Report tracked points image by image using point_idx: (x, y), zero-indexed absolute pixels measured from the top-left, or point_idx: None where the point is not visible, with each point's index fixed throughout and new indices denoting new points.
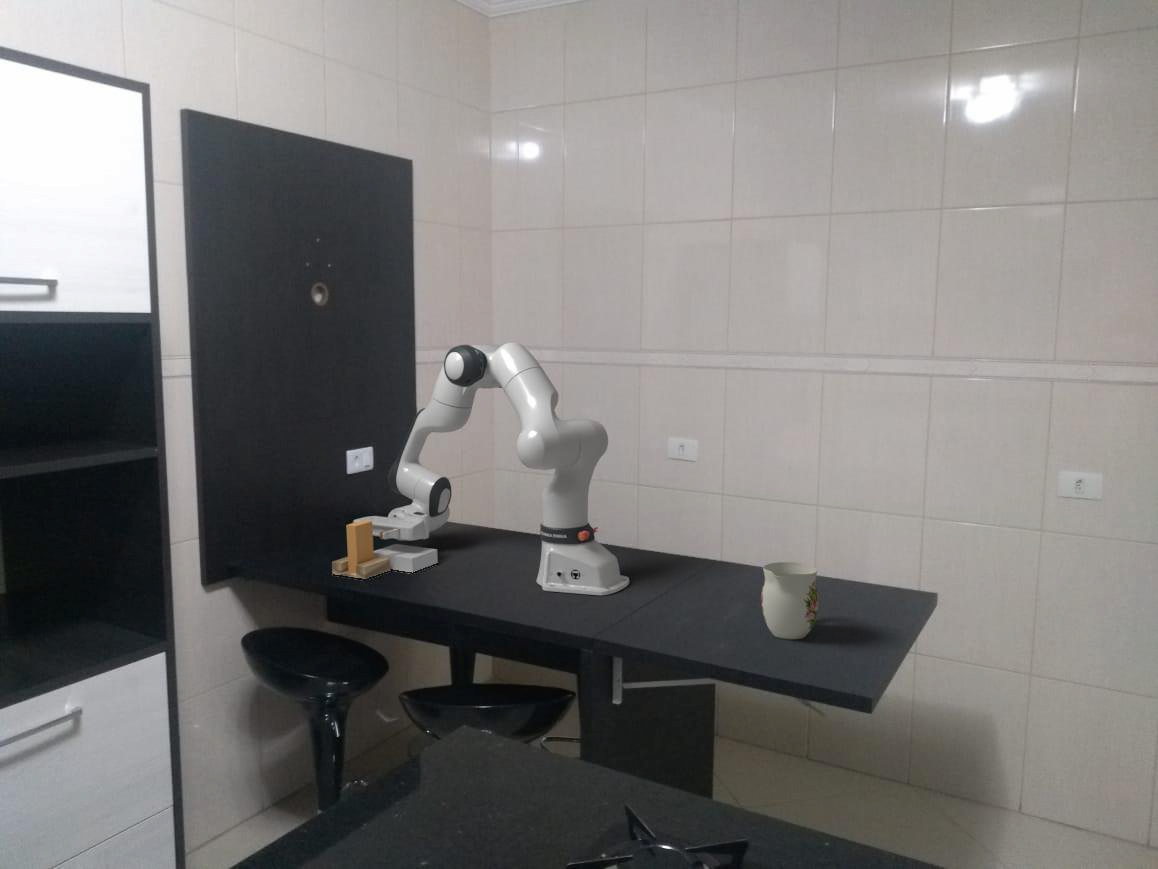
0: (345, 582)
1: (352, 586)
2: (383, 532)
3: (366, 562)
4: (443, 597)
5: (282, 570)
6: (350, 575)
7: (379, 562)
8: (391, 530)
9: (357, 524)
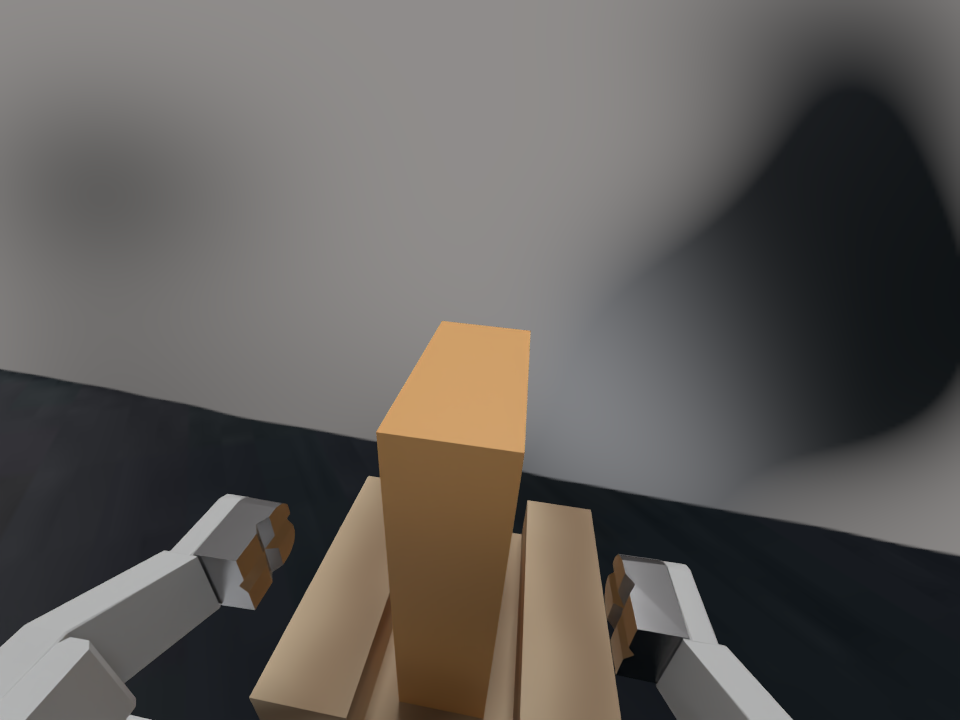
0: None
1: None
2: (239, 499)
3: None
4: (7, 434)
5: (863, 566)
6: None
7: (315, 578)
8: (123, 588)
9: (458, 345)
